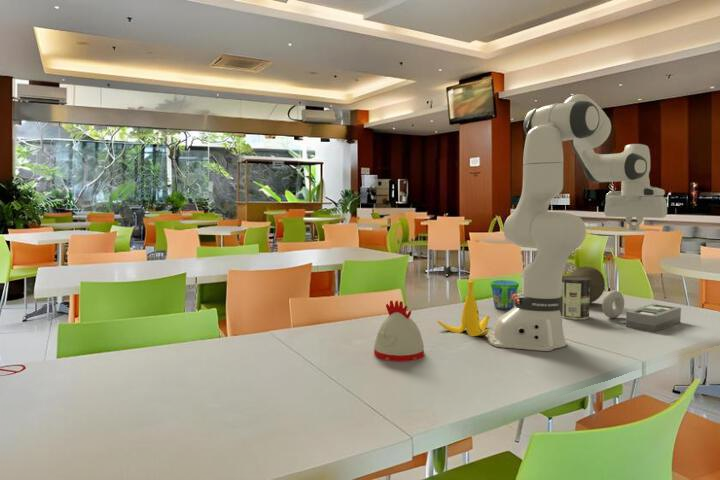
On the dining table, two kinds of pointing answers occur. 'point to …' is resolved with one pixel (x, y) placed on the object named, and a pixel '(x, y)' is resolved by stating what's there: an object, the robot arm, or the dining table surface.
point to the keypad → (653, 318)
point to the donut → (608, 306)
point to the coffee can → (575, 297)
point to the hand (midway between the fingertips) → (633, 230)
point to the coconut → (592, 281)
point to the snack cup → (504, 293)
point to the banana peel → (470, 317)
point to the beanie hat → (398, 336)
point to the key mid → (654, 309)
